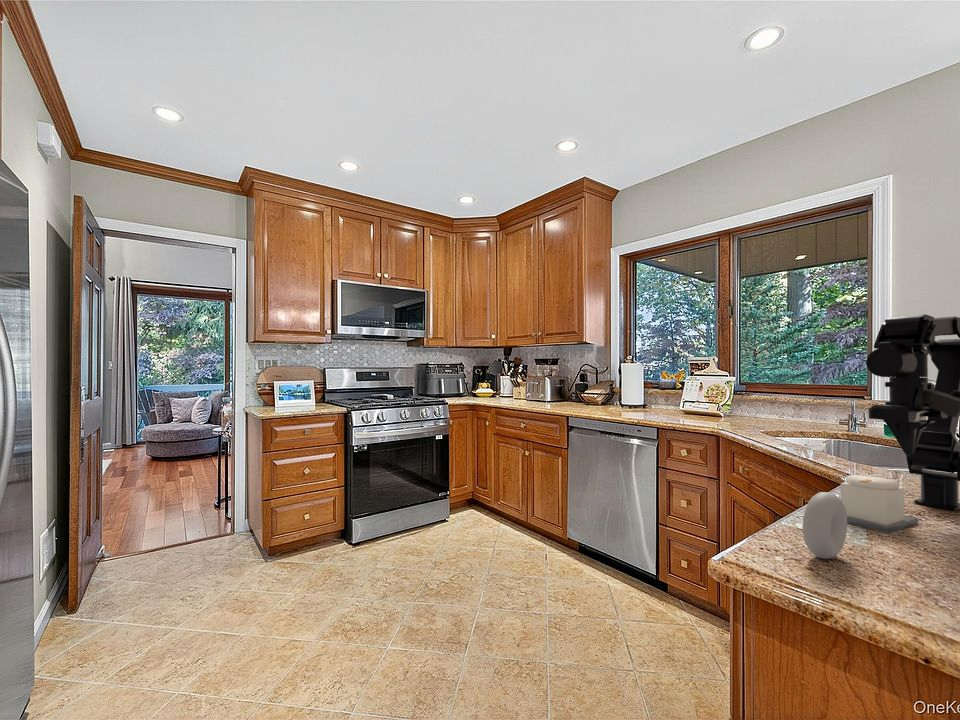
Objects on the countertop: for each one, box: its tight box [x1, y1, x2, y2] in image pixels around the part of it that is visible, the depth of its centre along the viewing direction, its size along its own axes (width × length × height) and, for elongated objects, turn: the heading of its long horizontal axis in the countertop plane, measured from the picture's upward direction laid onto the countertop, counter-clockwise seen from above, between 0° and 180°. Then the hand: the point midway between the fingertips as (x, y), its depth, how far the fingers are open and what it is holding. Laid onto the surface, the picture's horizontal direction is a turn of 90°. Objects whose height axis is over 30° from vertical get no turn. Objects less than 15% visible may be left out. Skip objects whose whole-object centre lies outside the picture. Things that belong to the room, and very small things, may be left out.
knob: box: [840, 474, 905, 525], centre depth 86 cm, size 8×8×7 cm
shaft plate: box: [847, 514, 919, 534], centre depth 87 cm, size 12×10×7 cm
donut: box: [802, 491, 848, 560], centre depth 70 cm, size 10×4×10 cm, turn 124°
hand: (909, 454), depth 92 cm, fingers closed
